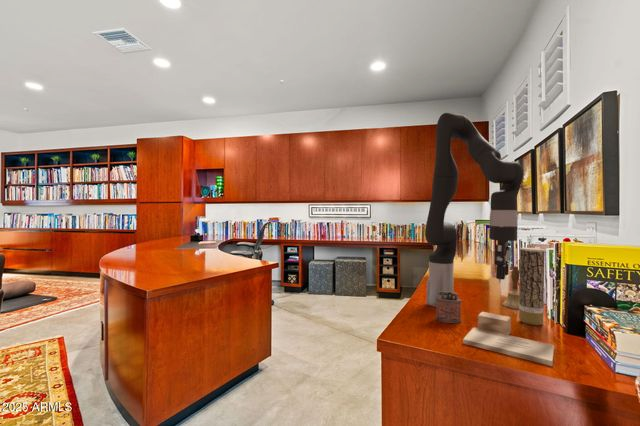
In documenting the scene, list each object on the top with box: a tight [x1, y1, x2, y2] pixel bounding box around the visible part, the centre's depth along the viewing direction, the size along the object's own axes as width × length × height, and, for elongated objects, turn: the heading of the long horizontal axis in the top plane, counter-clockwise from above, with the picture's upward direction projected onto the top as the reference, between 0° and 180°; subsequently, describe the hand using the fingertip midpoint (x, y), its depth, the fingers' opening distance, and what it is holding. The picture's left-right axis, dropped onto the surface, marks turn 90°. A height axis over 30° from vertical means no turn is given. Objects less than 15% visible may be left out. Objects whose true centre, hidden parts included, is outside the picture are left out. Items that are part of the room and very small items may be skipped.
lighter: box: [435, 291, 462, 324], centre depth 106 cm, size 8×3×10 cm, turn 71°
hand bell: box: [502, 266, 520, 310], centre depth 124 cm, size 8×8×16 cm
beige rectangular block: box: [477, 311, 512, 336], centre depth 96 cm, size 8×5×5 cm, turn 49°
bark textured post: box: [518, 247, 546, 326], centre depth 105 cm, size 7×7×25 cm
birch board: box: [462, 326, 555, 367], centre depth 85 cm, size 20×12×1 cm, turn 51°
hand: (502, 276), depth 96 cm, fingers open, 8 cm apart
